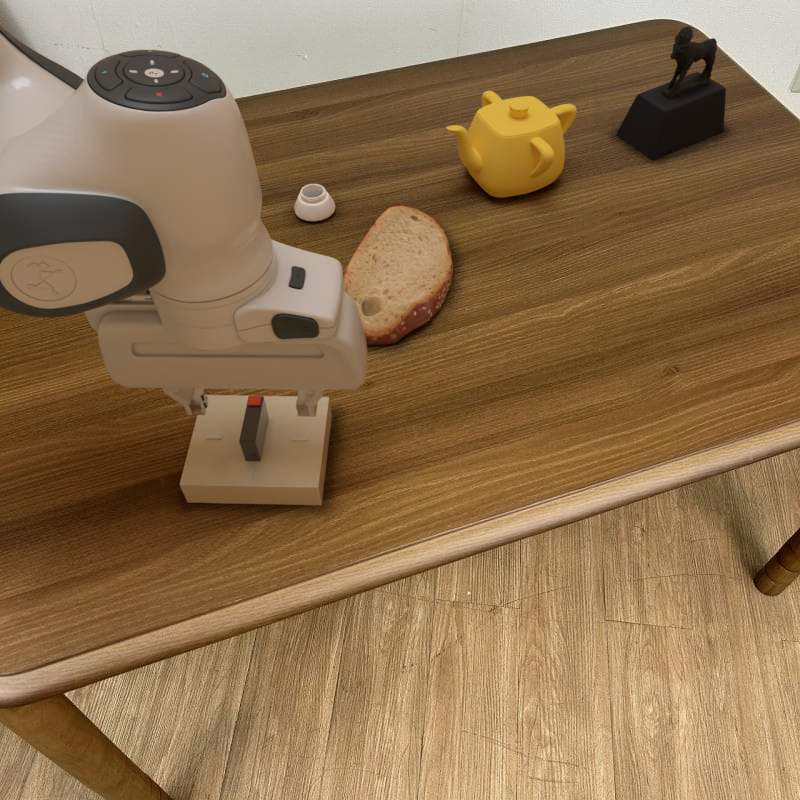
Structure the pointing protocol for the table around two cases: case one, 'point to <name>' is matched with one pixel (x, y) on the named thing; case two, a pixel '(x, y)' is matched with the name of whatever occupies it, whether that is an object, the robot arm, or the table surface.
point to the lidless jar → (314, 203)
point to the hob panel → (280, 463)
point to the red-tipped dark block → (254, 428)
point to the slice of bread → (399, 274)
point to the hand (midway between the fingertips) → (253, 410)
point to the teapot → (514, 144)
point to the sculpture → (678, 104)
